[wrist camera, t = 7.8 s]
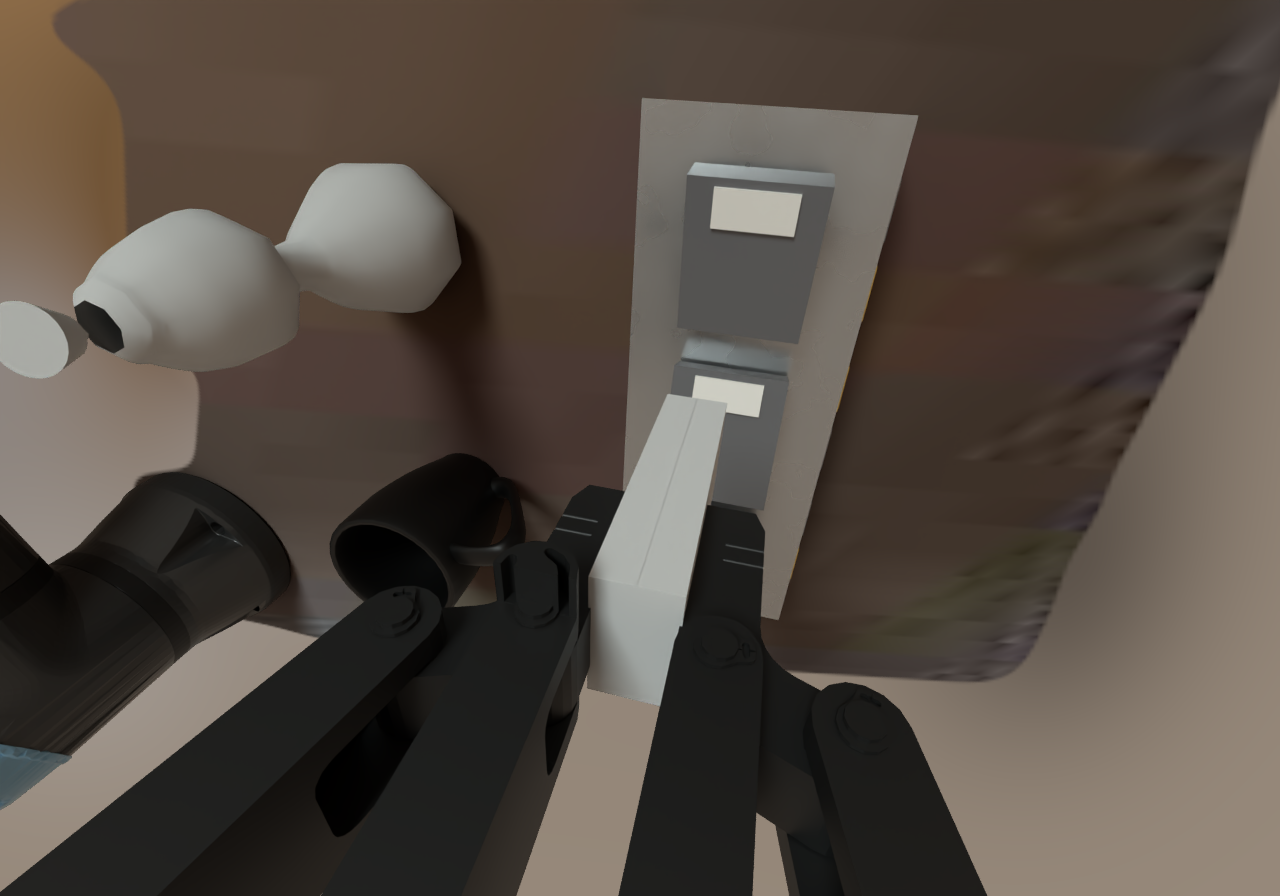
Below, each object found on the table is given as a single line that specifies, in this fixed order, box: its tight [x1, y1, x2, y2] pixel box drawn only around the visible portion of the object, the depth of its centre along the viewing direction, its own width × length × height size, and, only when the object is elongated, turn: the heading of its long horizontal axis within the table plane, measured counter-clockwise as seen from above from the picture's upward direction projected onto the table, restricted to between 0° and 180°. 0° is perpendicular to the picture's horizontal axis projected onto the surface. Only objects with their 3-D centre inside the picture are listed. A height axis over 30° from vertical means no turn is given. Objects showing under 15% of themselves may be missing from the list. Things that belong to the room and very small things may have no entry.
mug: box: [330, 453, 526, 608], centre depth 36 cm, size 8×12×10 cm
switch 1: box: [677, 162, 835, 344], centre depth 21 cm, size 5×6×2 cm
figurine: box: [0, 163, 461, 378], centre depth 23 cm, size 8×8×20 cm
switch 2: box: [671, 361, 789, 511], centre depth 25 cm, size 5×6×2 cm
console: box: [623, 98, 918, 620], centre depth 29 cm, size 10×26×6 cm, turn 177°
